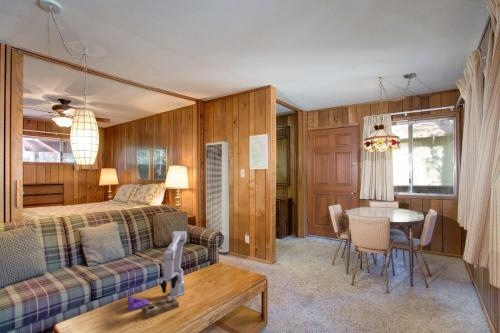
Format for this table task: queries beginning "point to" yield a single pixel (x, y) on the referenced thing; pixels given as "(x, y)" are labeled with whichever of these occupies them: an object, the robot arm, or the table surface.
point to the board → (159, 307)
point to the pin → (169, 297)
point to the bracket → (136, 303)
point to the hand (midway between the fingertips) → (168, 290)
